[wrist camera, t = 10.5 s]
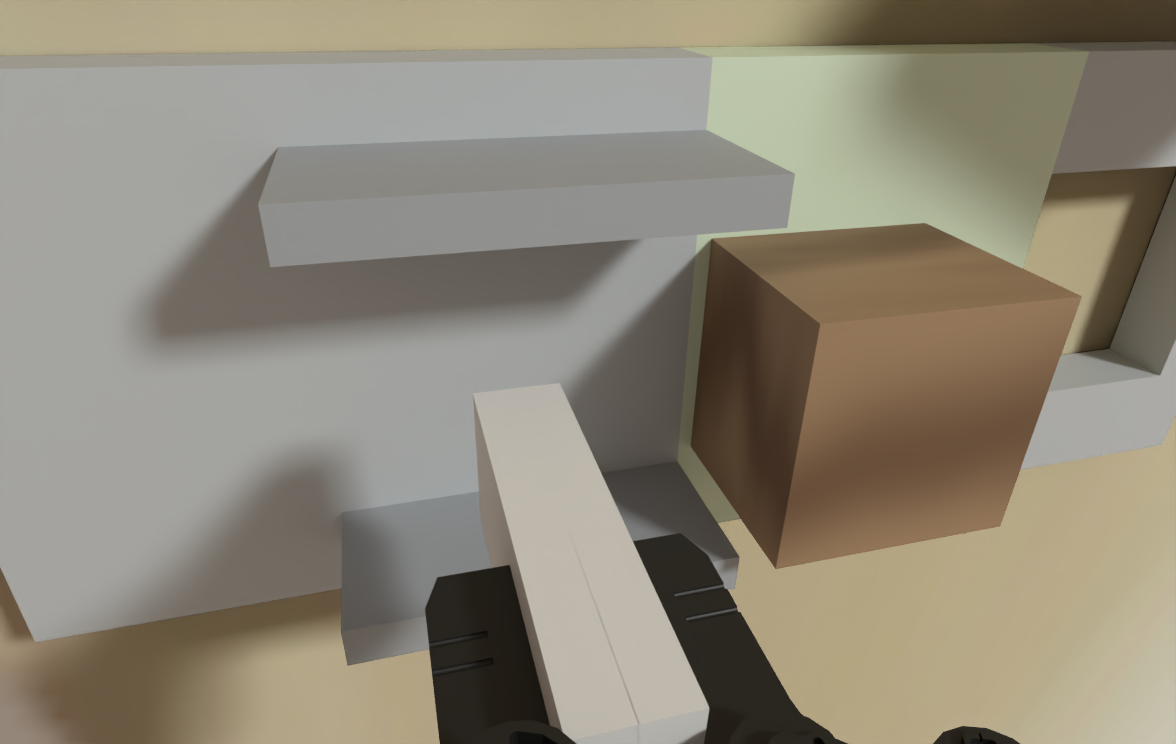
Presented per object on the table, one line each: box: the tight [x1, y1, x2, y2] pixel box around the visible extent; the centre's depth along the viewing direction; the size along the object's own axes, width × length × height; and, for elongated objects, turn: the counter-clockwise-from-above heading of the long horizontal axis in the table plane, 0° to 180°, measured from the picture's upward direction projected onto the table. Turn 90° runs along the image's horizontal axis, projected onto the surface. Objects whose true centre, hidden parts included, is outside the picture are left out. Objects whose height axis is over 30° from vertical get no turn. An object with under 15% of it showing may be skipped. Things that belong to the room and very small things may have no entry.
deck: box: [0, 41, 1176, 665], centre depth 19 cm, size 13×35×6 cm, turn 89°
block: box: [691, 223, 1082, 569], centre depth 18 cm, size 6×6×5 cm
